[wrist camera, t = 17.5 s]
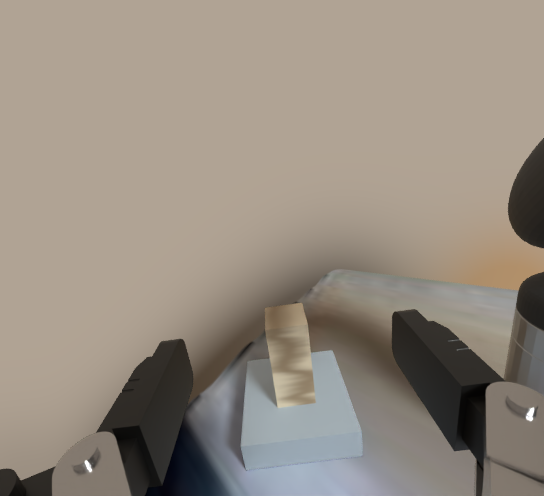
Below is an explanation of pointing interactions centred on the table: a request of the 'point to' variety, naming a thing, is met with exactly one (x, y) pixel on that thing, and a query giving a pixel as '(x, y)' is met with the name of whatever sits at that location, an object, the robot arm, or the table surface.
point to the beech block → (290, 355)
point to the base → (298, 419)
